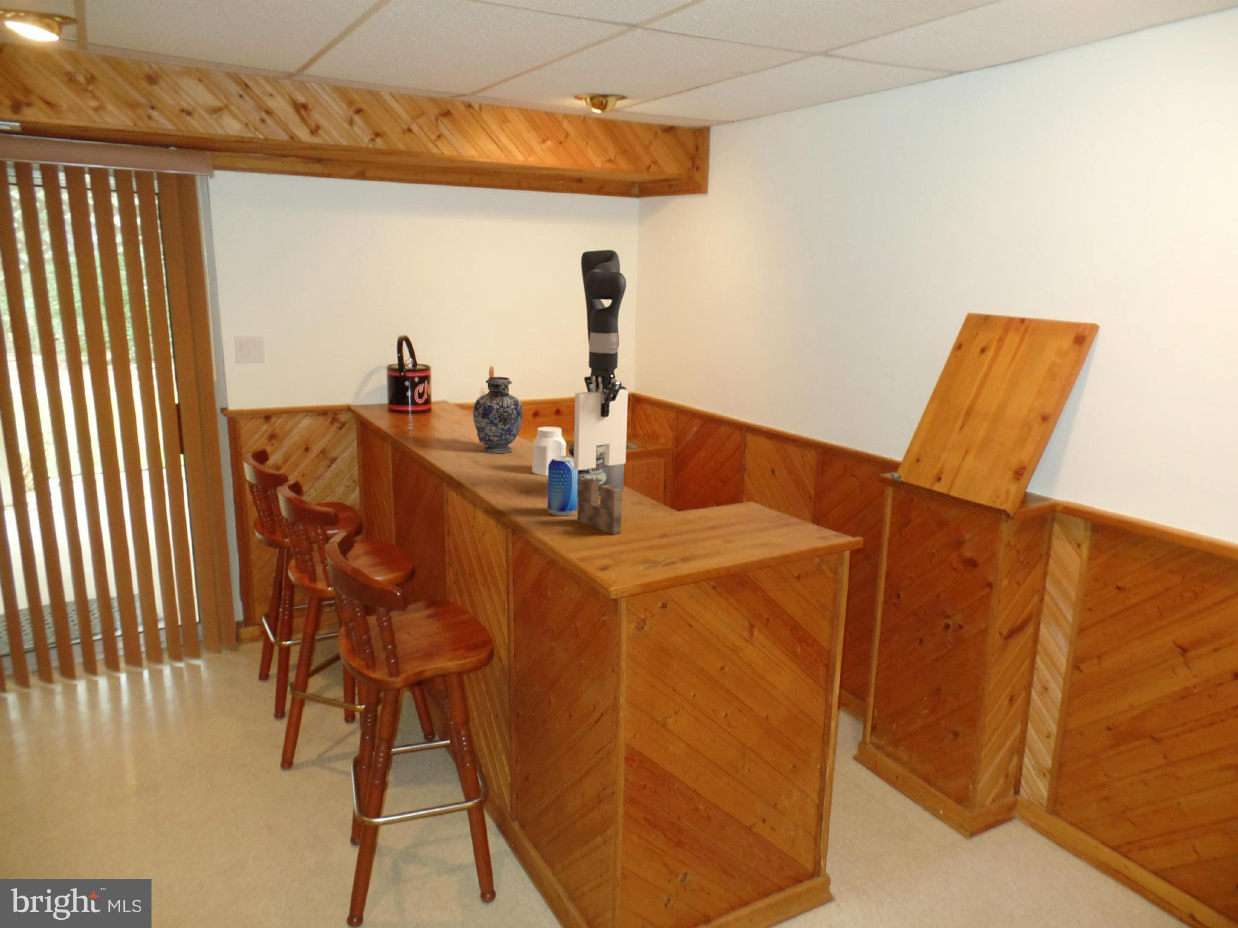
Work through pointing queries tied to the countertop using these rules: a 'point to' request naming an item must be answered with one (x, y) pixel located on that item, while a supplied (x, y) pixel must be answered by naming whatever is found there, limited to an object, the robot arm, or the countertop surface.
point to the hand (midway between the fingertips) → (601, 415)
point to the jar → (547, 448)
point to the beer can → (562, 486)
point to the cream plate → (599, 429)
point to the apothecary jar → (596, 472)
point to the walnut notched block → (599, 505)
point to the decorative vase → (497, 416)
